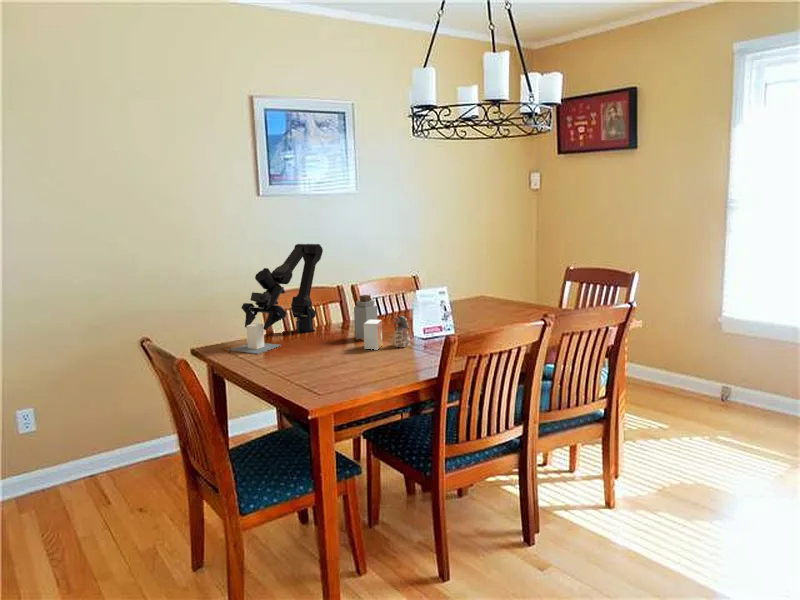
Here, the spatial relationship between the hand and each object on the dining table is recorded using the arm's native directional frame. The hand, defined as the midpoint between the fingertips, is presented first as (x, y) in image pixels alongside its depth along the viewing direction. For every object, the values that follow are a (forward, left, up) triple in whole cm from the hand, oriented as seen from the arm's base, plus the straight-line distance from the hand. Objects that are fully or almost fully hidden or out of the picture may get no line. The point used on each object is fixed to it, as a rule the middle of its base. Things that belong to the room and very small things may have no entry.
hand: (254, 328), depth 249 cm
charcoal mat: (0, 0, -8) cm, 8 cm away
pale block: (0, 0, -8) cm, 8 cm away
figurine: (-45, +36, -8) cm, 58 cm away
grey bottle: (-42, +16, -8) cm, 46 cm away
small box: (-35, +31, -8) cm, 47 cm away
